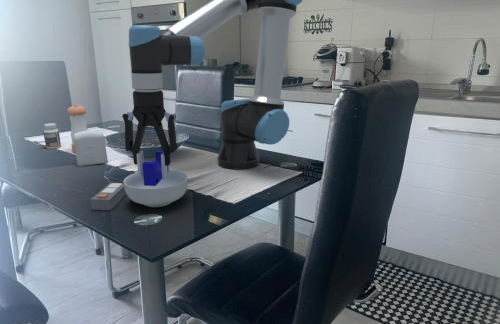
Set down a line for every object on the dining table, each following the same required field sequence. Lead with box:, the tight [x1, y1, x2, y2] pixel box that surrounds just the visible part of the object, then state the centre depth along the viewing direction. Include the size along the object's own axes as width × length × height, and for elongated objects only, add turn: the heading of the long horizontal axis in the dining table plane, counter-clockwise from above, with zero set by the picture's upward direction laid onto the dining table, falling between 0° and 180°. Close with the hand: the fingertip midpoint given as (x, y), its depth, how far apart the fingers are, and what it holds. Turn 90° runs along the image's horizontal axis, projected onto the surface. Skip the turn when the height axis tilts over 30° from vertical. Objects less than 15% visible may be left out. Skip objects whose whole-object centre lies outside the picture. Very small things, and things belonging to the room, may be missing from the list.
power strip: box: [90, 182, 127, 211], centre depth 106 cm, size 5×15×4 cm, turn 176°
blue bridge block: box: [143, 150, 170, 186], centre depth 102 cm, size 12×4×6 cm, turn 176°
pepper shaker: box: [66, 103, 89, 154], centre depth 151 cm, size 7×7×19 cm
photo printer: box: [74, 129, 109, 167], centre depth 136 cm, size 10×4×12 cm, turn 110°
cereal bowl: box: [123, 168, 189, 208], centre depth 104 cm, size 17×17×7 cm
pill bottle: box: [42, 122, 62, 150], centre depth 159 cm, size 6×6×10 cm
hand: (153, 176), depth 103 cm, fingers open, 6 cm apart
